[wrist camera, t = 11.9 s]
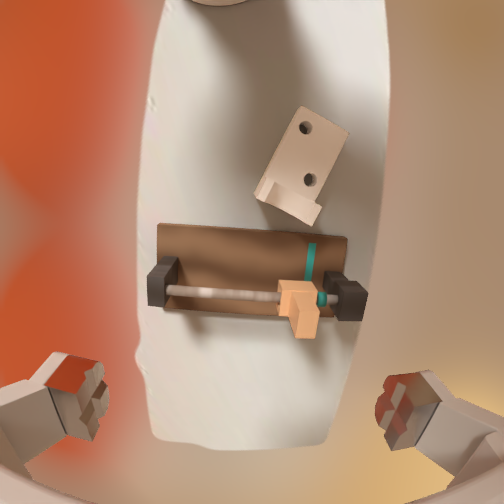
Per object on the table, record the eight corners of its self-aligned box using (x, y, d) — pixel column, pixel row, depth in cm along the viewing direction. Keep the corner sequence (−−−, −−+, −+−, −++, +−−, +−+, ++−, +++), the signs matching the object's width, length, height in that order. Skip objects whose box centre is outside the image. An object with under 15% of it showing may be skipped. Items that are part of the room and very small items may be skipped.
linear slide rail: (160, 223, 41) (134, 240, 31) (344, 236, 43) (375, 257, 32) (160, 302, 45) (139, 339, 34) (331, 312, 46) (354, 350, 35)
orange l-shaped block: (278, 279, 36) (289, 309, 28) (311, 281, 37) (329, 310, 29) (275, 304, 37) (285, 338, 29) (307, 305, 37) (324, 339, 30)
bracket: (299, 216, 42) (311, 226, 35) (253, 193, 41) (256, 198, 34) (340, 135, 40) (361, 129, 32) (296, 110, 39) (308, 98, 31)
